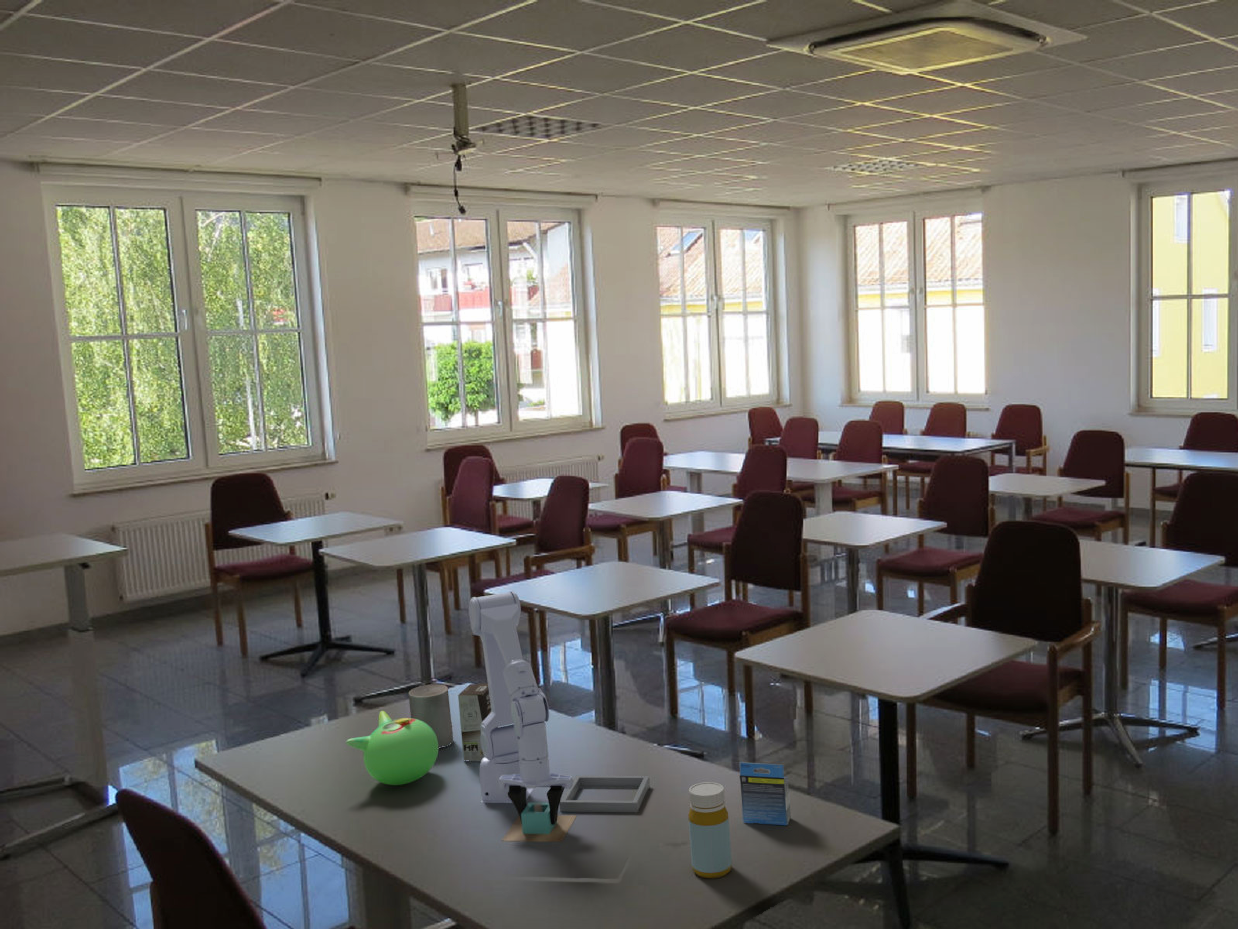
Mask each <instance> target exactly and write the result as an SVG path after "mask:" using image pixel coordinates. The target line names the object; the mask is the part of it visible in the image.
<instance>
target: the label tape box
mask: <svg viewBox="0 0 1238 929" xmlns="http://www.w3.org/2000/svg"><path fill="white" fill-rule="evenodd" d="M760 769H762V770H764V771H768V772H758V771H757V772H755V770H760ZM784 771H785V770H784V764H773V763H772V764H771V763H770V764H769V763H757V762H756V763H755V762H743V761H739V784H740V795H741V796H740V797H741V799H740V800H741V809H742V810H741V811H742V822H743V823H744V822H745V823H744V824H753V823H759V824H758V825H775V826H776V825H777V826H778V825H779V826H786V825H788V826H789V823H790V820H791V818H792V817H791V803H790V790H789V778H788V777H786V776H784V775H785V773H784Z"/></svg>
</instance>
